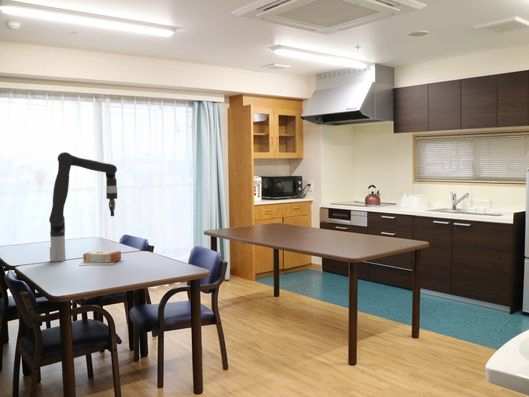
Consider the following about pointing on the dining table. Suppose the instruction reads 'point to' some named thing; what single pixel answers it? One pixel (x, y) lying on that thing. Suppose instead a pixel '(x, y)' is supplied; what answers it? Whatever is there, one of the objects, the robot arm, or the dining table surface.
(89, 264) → the mat
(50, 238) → the robot arm
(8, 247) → the dining table surface
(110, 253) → the cracker box
